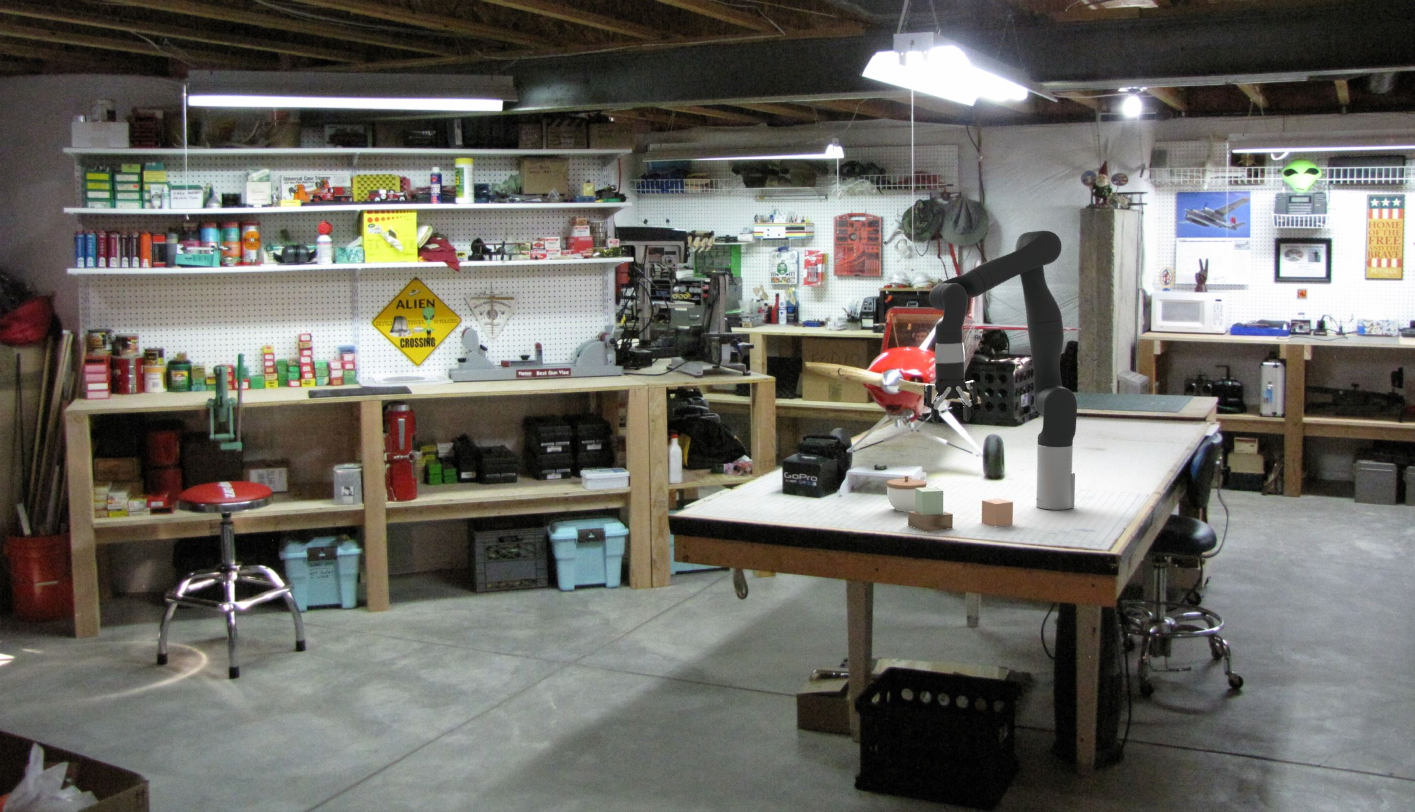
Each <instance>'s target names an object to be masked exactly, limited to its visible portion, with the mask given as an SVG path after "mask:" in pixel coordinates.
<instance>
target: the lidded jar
mask: <svg viewBox="0 0 1415 812" xmlns="http://www.w3.org/2000/svg"><path fill="white" fill-rule="evenodd" d="M925 487H927V481H925V480H922V479H917V478H909V475H904V478H893V479H889V480H886V492H887V493H886V494H887V500H888V502H889V503H890V505H891V506H892V508H894V510H895V509H896V510H898V511H897V512H900V511H904V513H908V512H910V511H915V488H925ZM896 510H895V511H896Z"/></svg>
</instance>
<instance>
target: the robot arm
mask: <svg viewBox="0 0 1415 812" xmlns="http://www.w3.org/2000/svg"><path fill="white" fill-rule="evenodd" d="M1062 248H1063V247H1062V241H1061V239H1060V237H1059V235H1057V234H1056V233H1055V232H1053V231H1049V230H1036V231H1028V232H1027V231H1026V232H1023V233H1022V234H1020V236H1018V238H1017V240H1016V241H1015V248H1014V251H1013V252H1011V253H1008V254H1006V255H1002V256H999V257H996V258H994V259H990V260H988V261H986V262H985V261H984V262H983V263H981V264H979V265H977V266H975V267H973V268H971V269H969V270H968V271H966V272H964V273H963V274H960V275H957V276H954V277H952V278H948V279H946V280H944V281H941V282H939V283H938V284H936V285H935V286H934V287H933V288H931V290H930V292H929V295H928V301H929V304H930V306H932V308H933V309H935V310H938V311H943V317H942V319H941V320H939V321H937V322H936V323H935V330H934V331H935V332H934V333H935V350H934V365H935V366H934V369H935V373H934V374H935V383H934V384H929V383H925V384H924V385H923V407H926V408H929V409H930V414H931V415H930V418H931V419H930V420H931V422H933V423H934V424H936V425H938V424H940V410H939V409H938V408H939V407H940V406H941V404H942V403H943V402H944V401H945V400H949V401H950V400H952V399H953V400H960V402H961V403H962V405H963V406H962V415H963V421H965V422H969V421H970V419H972V406H973V405H977V404H978V402H979V397H978V385H977V381H975V380H969V381H966V379H965V377H966V373H965V372H966V369H965V359H966V356H965V347H964V331H963V329H964V328H963V326H964V322H965V320H966V315H967V308H968V305H969V304H968V303H969V302H968V301H969V299H971V298H977V297H979V296H981V295H983V294H985V293H987V292H989V291H990V290H993V289H994V288H996V287H997V286H999V285H1001V284H1003V283H1005V282H1007V281H1009V280H1011V279H1014V278H1015V277H1017V276H1019V277H1020V281H1021V287H1022V291H1023V300H1024V306H1025V313H1026V314H1025V315H1026V326H1027V334H1028V335H1027V336H1028V340H1029V345H1030V346H1029V347H1030V348H1029V349H1030V356H1031V362H1032V367H1033V368H1032V369H1033V400H1034V402H1033V404H1034V407H1035V409H1036V411H1037V413H1038V415H1040V416H1041V417H1042V420H1043V421H1042V429H1041V431H1040V433H1038V435H1037V455H1036V456H1037V458H1036V460H1037V461H1036V463H1037V464H1036V499H1035V500H1036V503H1035V504H1036V505H1035V507H1037V508H1039V509H1043V510H1044V509H1045V510H1055V511H1056V510H1057V511H1059V510H1060V511H1061V510H1068V509H1072V508H1073V509H1074V508H1075V502H1076V501H1075V500H1076V497H1075V494H1076V492H1075V491H1076V474H1075V472H1073V448H1074V447H1073V445H1074V442H1073V441H1074V438H1075V435H1076V431H1077V418H1078V402H1077V398H1076V396H1075V394H1074V393H1073V392H1072V390H1071V389H1069V388H1066V387H1064V386H1063V381H1062V377H1061V375H1062V374H1061V369H1060V368H1061V367H1060V364H1061V363H1060V362H1061V357H1062V356H1061V355H1062V351H1063V350H1062V349H1063V345H1064V341H1065V338H1064V337H1065V335H1064V334H1065V331H1064V323H1063V316H1062V312H1061V307H1060V306H1059V304H1058V303H1057V300H1056V299H1055V296H1053V293H1052V292H1051V291H1050V289H1049V286H1048V283H1047V281H1046V278H1045V270H1044V266H1048V265H1050V264H1052V263H1054V262H1055V261H1057V259H1058V258H1059V257H1060V255H1061V251H1062ZM965 389H967V390H968V395H969V397H968V396H967V395H966V393H965V392H964V391H965ZM935 391H936V392H937V393H936V394H935V396H934V397H932V396H933V393H934V392H935ZM932 398H933V399H932Z"/></svg>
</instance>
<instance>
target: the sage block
mask: <svg viewBox="0 0 1415 812" xmlns="http://www.w3.org/2000/svg"><path fill="white" fill-rule="evenodd" d="M915 511H916V512H918V513H920V514H921V515H936V514H943V511H944V490H943V489H941V488H939V487H937V486H932V487H931V486H929V487H928V486H926V487H925V488H915Z"/></svg>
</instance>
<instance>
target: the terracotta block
mask: <svg viewBox="0 0 1415 812" xmlns="http://www.w3.org/2000/svg"><path fill="white" fill-rule="evenodd" d="M1013 514H1014V502H1013V501H1010V500H1006V499H1002V498H991V499H983V500H981V524H983V523H984V525H987V524H988V525H987V526H990V525H991V527H994V526H1000V527H1005V526H1004V525H1007V526H1013V525H1012V524H1014V522H1013V521H1014V520H1013V518H1014V515H1013Z"/></svg>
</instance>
